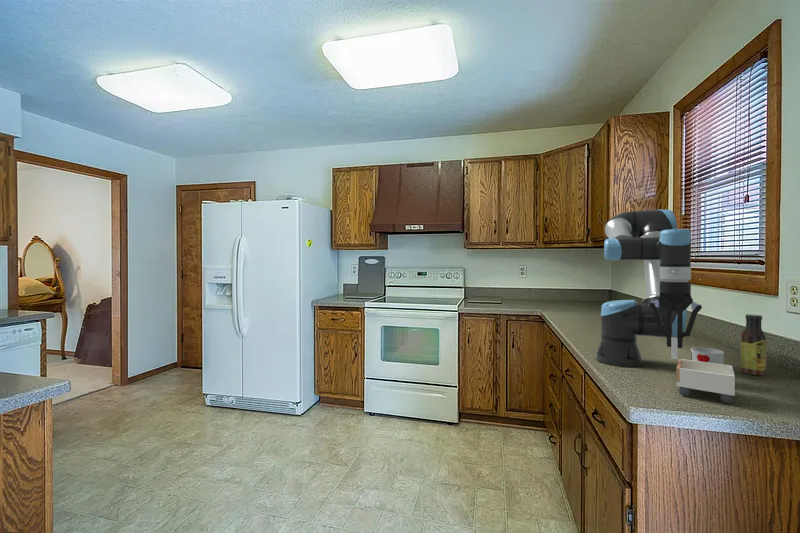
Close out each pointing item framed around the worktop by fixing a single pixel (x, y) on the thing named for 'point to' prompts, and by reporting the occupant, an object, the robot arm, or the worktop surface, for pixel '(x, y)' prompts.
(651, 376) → the worktop surface
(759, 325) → the sauce bottle
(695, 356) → the cup
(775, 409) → the worktop surface
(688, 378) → the white open box
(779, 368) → the worktop surface
